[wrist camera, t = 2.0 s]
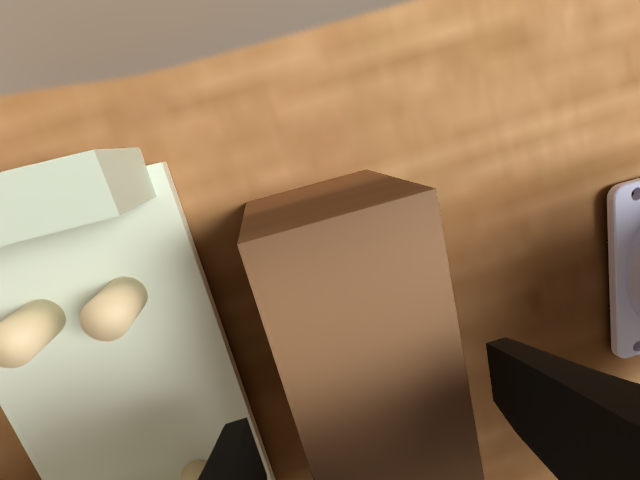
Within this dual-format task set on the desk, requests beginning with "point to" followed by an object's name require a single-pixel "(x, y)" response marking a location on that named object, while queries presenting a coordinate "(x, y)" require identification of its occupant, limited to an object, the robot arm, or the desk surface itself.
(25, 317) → the peg frame
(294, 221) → the brown rectangular block
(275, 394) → the desk surface
